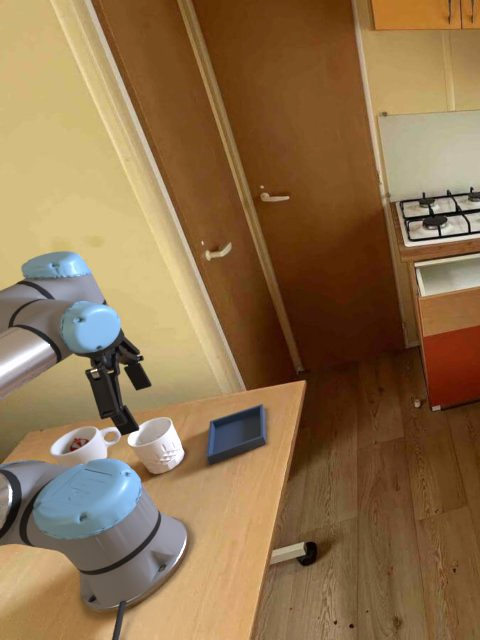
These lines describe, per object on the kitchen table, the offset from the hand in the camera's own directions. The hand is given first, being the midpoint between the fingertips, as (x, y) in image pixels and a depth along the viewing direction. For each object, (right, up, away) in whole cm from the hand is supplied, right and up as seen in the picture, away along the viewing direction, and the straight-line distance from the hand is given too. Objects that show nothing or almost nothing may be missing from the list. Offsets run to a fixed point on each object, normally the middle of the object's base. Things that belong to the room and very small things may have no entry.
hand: (137, 408), depth 90 cm
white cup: (0, -15, +8) cm, 17 cm away
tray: (+13, -12, +14) cm, 22 cm away
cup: (-16, -15, +8) cm, 23 cm away
